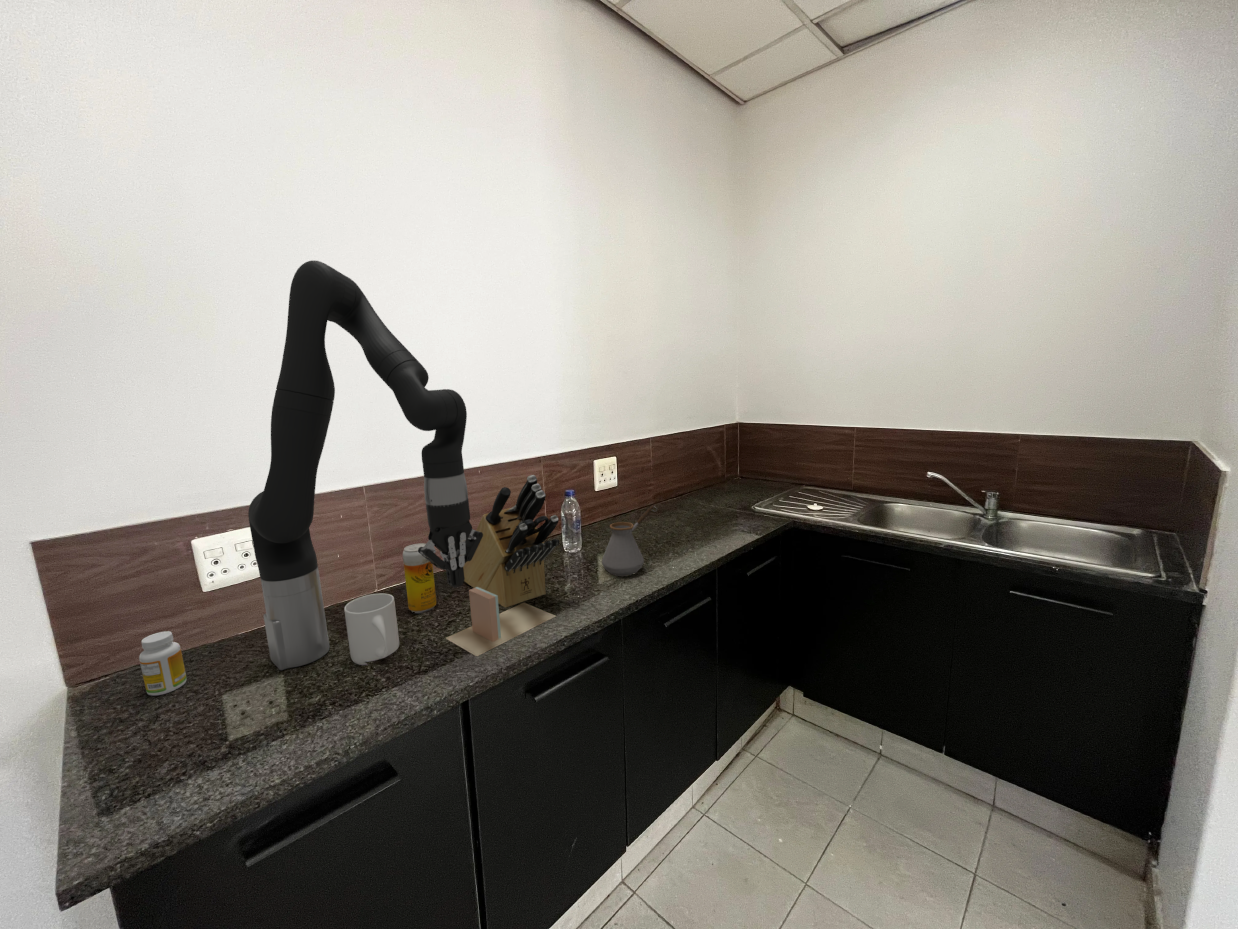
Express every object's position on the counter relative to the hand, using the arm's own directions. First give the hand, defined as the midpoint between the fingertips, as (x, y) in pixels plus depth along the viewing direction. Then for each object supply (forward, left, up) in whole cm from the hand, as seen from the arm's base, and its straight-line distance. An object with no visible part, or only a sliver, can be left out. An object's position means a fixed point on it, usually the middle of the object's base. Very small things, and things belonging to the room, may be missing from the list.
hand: (456, 585), depth 95 cm
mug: (-12, +11, -14) cm, 21 cm away
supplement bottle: (-40, +32, -14) cm, 53 cm away
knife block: (+21, +14, -14) cm, 29 cm away
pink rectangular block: (+5, 0, -12) cm, 13 cm away
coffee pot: (+54, +1, -14) cm, 56 cm away
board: (+9, 0, -13) cm, 16 cm away
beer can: (+4, +24, -14) cm, 27 cm away
